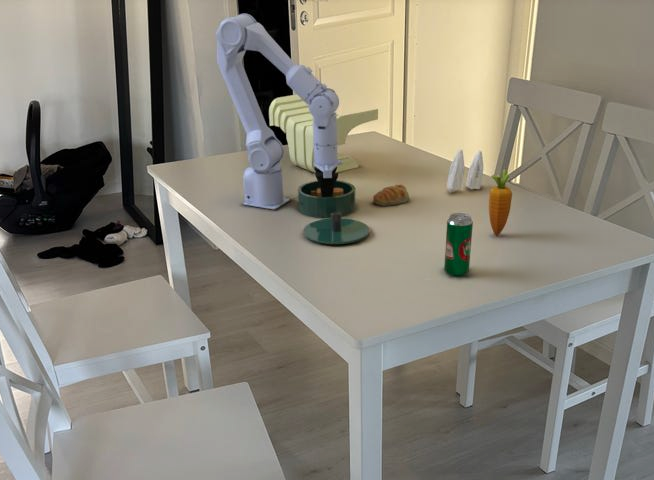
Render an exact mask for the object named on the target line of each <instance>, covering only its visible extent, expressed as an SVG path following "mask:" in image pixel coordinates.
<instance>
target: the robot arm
mask: <svg viewBox="0 0 654 480" xmlns="http://www.w3.org/2000/svg"><path fill="white" fill-rule="evenodd" d="M215 38H216V40H217V41H216V42H217V43H216V63H217V66H218V69H219V71H220V73H221V76H222V78H223V81H224V83H225V86H226V88H227V90H228V92H229V95H230V97H231V100H232V103H233V104H234V107H235V110H236V112H237V114H238V117H239V119H240V122H241V124H242V126H243V129H244V131H245V134H246V138H245V139H246V140H245V148H246V150H247V160H248V164H249V165H250V166H249V167H247V168H246V169H245V170H244V172H243V178H242V182H243V192H244V193H243V195H244V202H243V205H244V206H248V207H256V208H261V209H268V210H272V211H273V210H277V209H279V208H281V207H282V206H284V205H285V204H287V203H288V202H290V201H291V198H288V197H284V187H283V186H284V185H283V169H282V168H283V167H282V164H281V160H282V159H283V157H284V155H285V147H284V145H283V143H282V142H281V141H280V140H279V139H278V138H277V136H276V135H275V132H274V131H273V130H272V129H271V128H270V127H269V126H268V125H267V123H266V120H265V117H264V115H263V113H262V110H261V107H260V106H259V103H258V100H257V98H256V95H255V92H254V91H253V88H252V86H251V83H250V80H249V78H248V75H247V73H246V70H245V67H244V65H243V61H242V60H243V58H244V56H245V54H246V51H254V52H259V53H260V54H262V56H264V57H265V58H266V59H267V60H268V61H269V62H270V63H271V64H272V65H274V66H275V67H276V69H278V70H279V71H280V72H281V73H282V74H284V76H285V80H286V81H285V82H286V85H287V86H288V87H289V88H290V89H291V90H292V91H293V92H294V93H295V95H298V96H299V97H300V98H301V99H302V100H303V101H304V102H305V103H306V104H308V105H310V106H309V111H310V113H311V114H312V116H313V140H314V161H313V165H314V166H315V167H314V170H315V171H316V172H314V176H315V178H316V181H317V180H318V182H319V185H320V189H321V194H322V197H333V190H334V185H335V182H336V180H338V178H339V172H336V170H337V166H338V165H342V160H338V155H337V153H338V146H337V121H336V114H337V112H336V111H337V110H338V109H339V105H340V99H339V95H338V94H337V93H336V91H335V89H333V88H331V87H328V85H326V84H325V83H322V82H321V81H320V80H319V79H318V78H317V77H316V76H315V74H313V73H312V72H313V69H312V68H311V67H310V66H307V67H306V66H305V65H304V64H296V63H295V62H294V61H293V59H291V58H290V56H289V55H288V54H287V53H286V52H285V51H284V50H283V48H282V47H281V46H280V45H279V44H278V43H277V42H276V40H275V39H274V38H273V37H272V36H271V35H270V34H269V33H268V32H267V30H266V29H265V27H264V25H262V24H261V23H260V22H257V20H256V19H255V18H254V17H253V16H252V15H251V14H250V13H249V14H248V13H240V14H237V15H235V16H233V17H227V18H225V19H223V20H222V21H221V22H220V24H219V26H218V28H217V30H216V32H215ZM335 172H336V173H335Z"/></svg>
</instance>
